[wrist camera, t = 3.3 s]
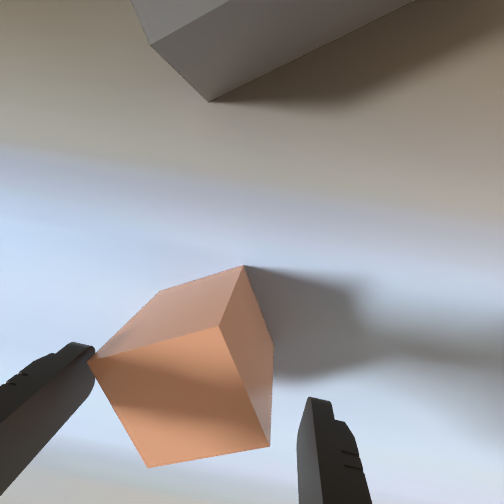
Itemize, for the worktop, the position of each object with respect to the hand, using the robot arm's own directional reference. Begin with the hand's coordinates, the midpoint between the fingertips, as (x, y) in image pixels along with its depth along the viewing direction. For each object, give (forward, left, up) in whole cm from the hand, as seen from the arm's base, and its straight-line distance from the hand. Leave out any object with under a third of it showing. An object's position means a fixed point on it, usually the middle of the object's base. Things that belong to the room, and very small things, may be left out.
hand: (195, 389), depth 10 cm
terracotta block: (-1, 0, -6) cm, 6 cm away
